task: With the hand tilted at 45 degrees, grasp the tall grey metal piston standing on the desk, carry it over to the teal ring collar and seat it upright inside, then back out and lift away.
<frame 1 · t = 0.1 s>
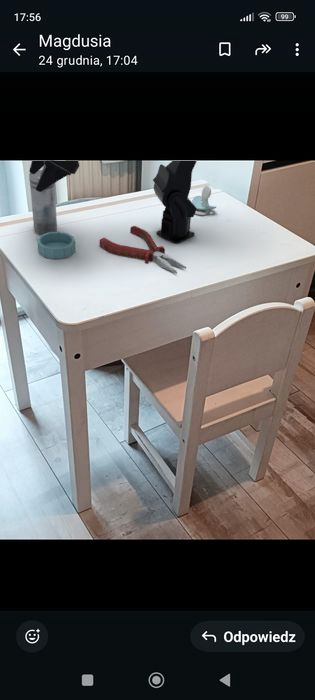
hand: (34, 181, 113), 15 cm above the table, tool tilted 35°, fingers open, 9 cm apart
piston: (45, 230, 129), on the table
ring collar: (56, 250, 122), on the table
pacifier: (200, 211, 143), on the table
pliers: (138, 258, 123), on the table
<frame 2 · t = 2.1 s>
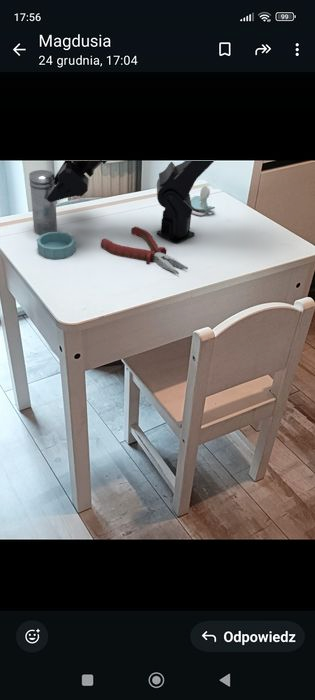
hand: (50, 191, 124), 9 cm above the table, tool tilted 45°, fingers open, 9 cm apart
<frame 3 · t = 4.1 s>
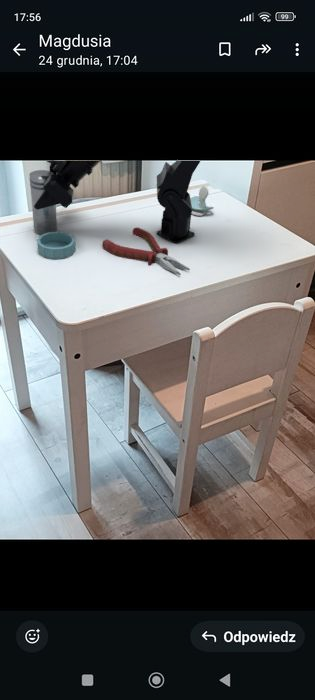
hand: (37, 202, 125), 7 cm above the table, tool tilted 45°, fingers closed on piston, 5 cm apart
piston: (45, 230, 129), on the table, touching gripper
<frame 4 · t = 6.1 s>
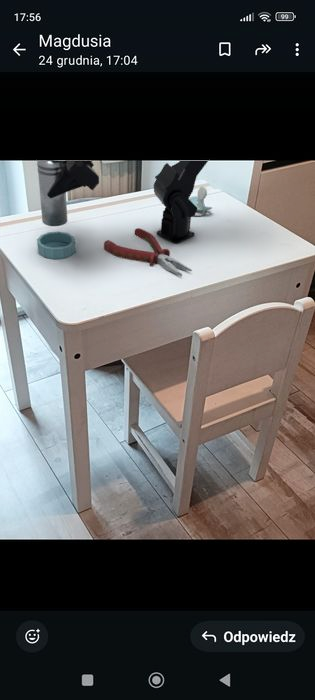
hand: (46, 191, 114), 13 cm above the table, tool tilted 45°, fingers closed on piston, 5 cm apart
piston: (54, 220, 118), point 7 cm above the table, touching gripper
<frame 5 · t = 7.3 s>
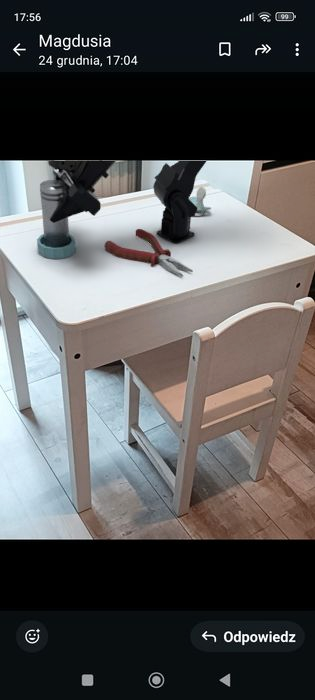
hand: (48, 215, 117), 8 cm above the table, tool tilted 45°, fingers closed on piston, 5 cm apart
piston: (57, 243, 121), point 2 cm above the table, touching gripper
when the fingers open (8 cm above the table, at t = 8.2 s): piston stays where it is, resting on ring collar.
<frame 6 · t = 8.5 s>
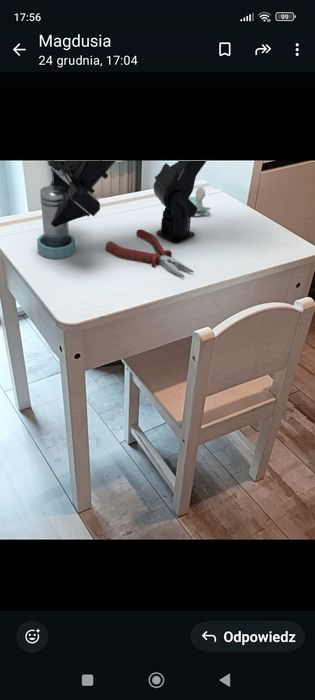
hand: (47, 215, 117), 8 cm above the table, tool tilted 45°, fingers open, 9 cm apart
piston: (57, 248, 122), resting on ring collar
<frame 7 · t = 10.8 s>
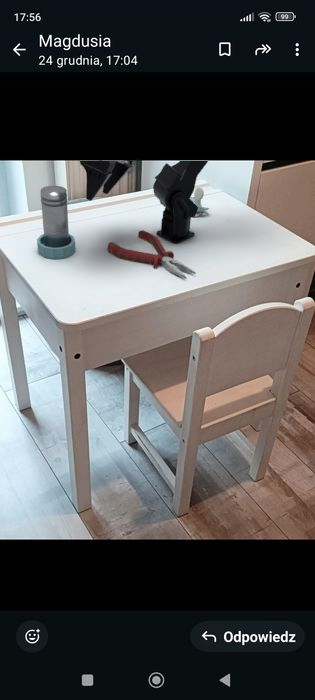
hand: (97, 196, 117), 12 cm above the table, tool tilted 20°, fingers open, 9 cm apart
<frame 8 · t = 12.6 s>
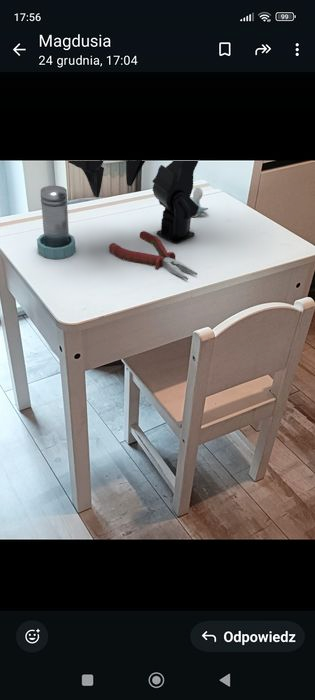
hand: (113, 191, 117), 13 cm above the table, tool pointing down, fingers open, 9 cm apart
at the end: piston 0.1 cm off-centre on the ring collar, point 0.4 cm above the ring collar's base; piston tilted 0°; the gripper is holding nothing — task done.
